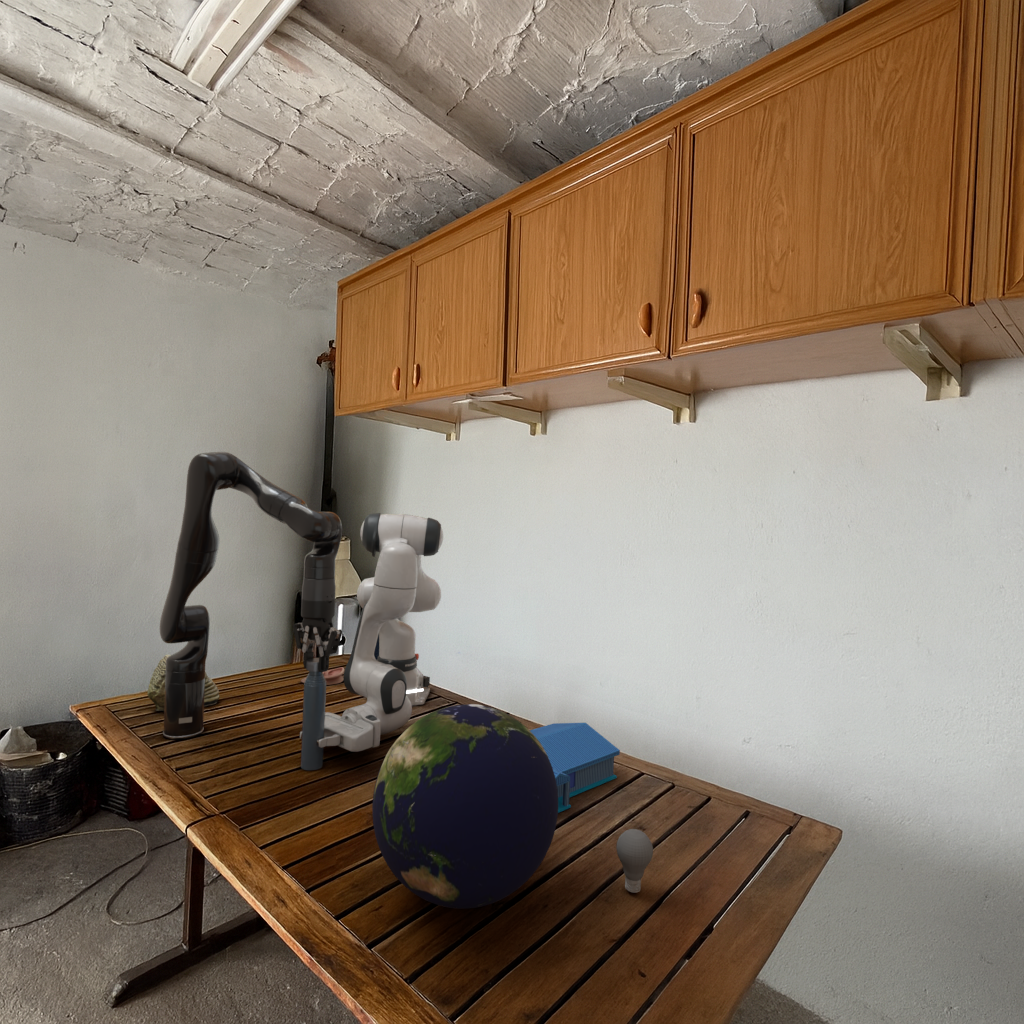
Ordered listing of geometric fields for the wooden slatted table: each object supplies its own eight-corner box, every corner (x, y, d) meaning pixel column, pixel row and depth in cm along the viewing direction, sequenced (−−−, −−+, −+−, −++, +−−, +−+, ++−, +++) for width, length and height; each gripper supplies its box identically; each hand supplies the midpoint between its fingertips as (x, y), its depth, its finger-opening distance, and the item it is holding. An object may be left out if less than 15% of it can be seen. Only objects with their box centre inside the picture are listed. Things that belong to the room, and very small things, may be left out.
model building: (501, 837, 120) (504, 785, 120) (427, 790, 139) (429, 744, 138) (628, 782, 147) (630, 739, 147) (552, 748, 165) (553, 710, 165)
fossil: (144, 707, 182) (145, 655, 182) (212, 696, 194) (213, 647, 194) (151, 716, 175) (153, 662, 175) (221, 703, 188) (223, 653, 188)
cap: (322, 672, 146) (322, 662, 146) (303, 671, 146) (304, 662, 146) (327, 667, 150) (328, 658, 150) (309, 666, 150) (309, 657, 150)
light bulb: (610, 879, 108) (613, 822, 108) (644, 879, 109) (647, 822, 109) (619, 902, 102) (622, 840, 102) (655, 901, 103) (658, 840, 103)
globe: (328, 919, 95) (336, 721, 95) (427, 827, 123) (434, 674, 122) (512, 985, 84) (522, 760, 83) (576, 867, 112) (584, 698, 111)
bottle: (300, 771, 145) (304, 665, 145) (300, 762, 150) (305, 659, 150) (323, 769, 147) (327, 664, 147) (323, 760, 152) (327, 659, 151)
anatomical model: (296, 671, 211) (313, 663, 222) (295, 683, 211) (313, 674, 222) (332, 675, 208) (348, 666, 219) (332, 687, 208) (348, 678, 219)
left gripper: (284, 595, 148) (281, 668, 148) (329, 602, 141) (326, 678, 141) (308, 591, 155) (306, 661, 155) (352, 598, 148) (349, 671, 148)
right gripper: (331, 702, 165) (284, 715, 154) (384, 722, 153) (337, 737, 142) (330, 726, 165) (283, 741, 154) (383, 747, 153) (336, 765, 142)
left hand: (315, 669), depth 148 cm, fingers closed on cap, 4 cm apart
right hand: (309, 739), depth 148 cm, fingers closed on bottle, 5 cm apart
